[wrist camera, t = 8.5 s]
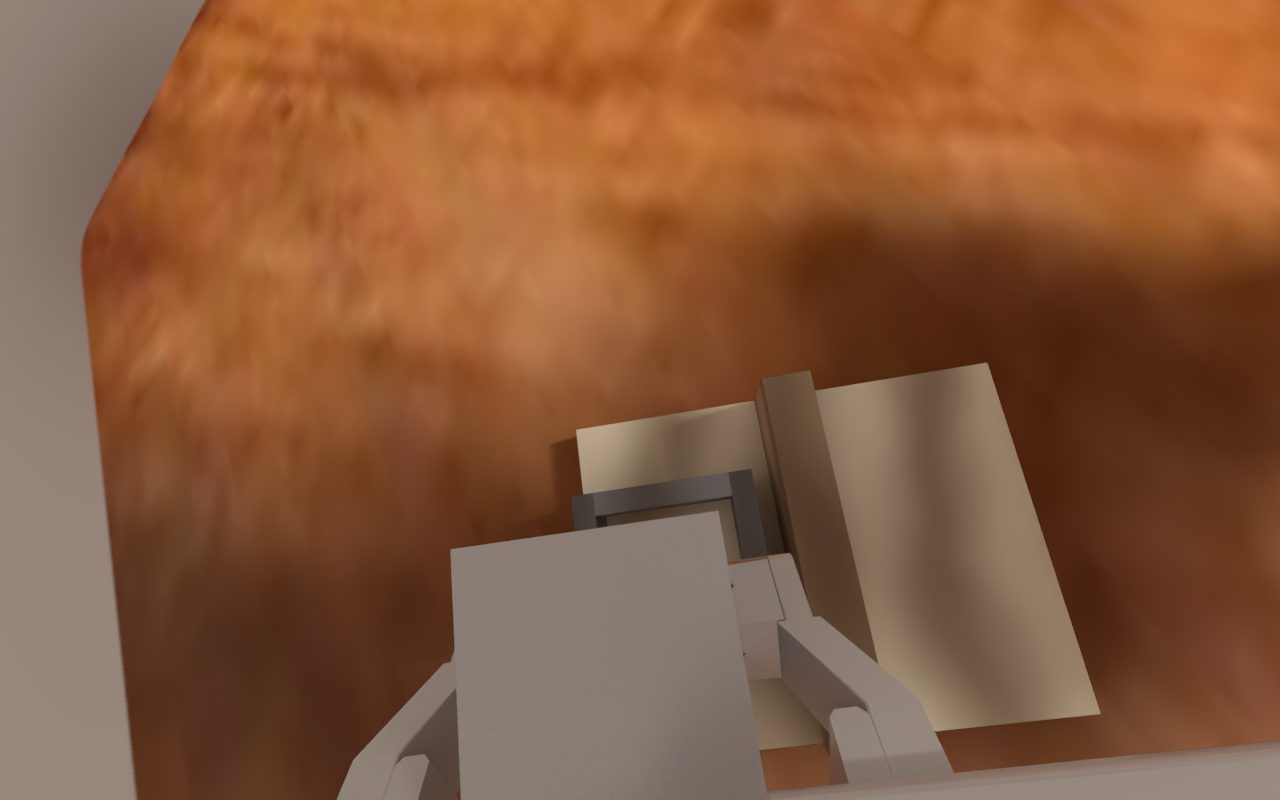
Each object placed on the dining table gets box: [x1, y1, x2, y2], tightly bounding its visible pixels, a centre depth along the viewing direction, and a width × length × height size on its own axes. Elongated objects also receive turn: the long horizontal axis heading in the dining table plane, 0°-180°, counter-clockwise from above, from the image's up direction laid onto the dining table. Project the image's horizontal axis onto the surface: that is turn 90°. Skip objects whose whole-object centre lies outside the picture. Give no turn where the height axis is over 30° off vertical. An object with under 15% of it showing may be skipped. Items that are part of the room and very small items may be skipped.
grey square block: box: [450, 511, 768, 800], centre depth 12 cm, size 4×4×10 cm
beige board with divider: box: [571, 363, 1101, 756], centre depth 23 cm, size 20×15×6 cm
